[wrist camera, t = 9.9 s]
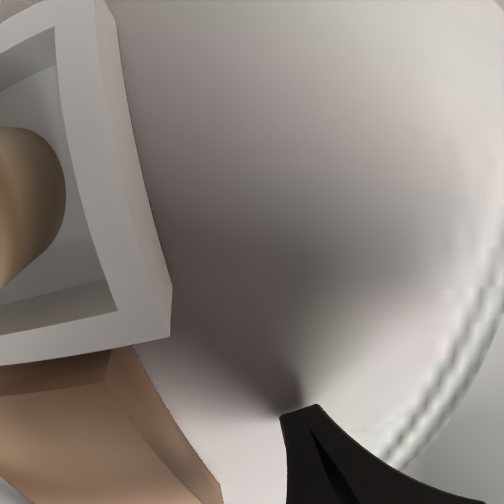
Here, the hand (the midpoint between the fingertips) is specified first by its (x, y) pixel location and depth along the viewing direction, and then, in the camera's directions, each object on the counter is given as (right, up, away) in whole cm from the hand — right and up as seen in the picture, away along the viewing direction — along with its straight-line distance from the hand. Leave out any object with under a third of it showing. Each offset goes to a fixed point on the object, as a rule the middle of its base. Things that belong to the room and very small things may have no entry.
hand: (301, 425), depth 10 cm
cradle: (-8, +8, -3) cm, 11 cm away
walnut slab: (-8, -2, 0) cm, 8 cm away
